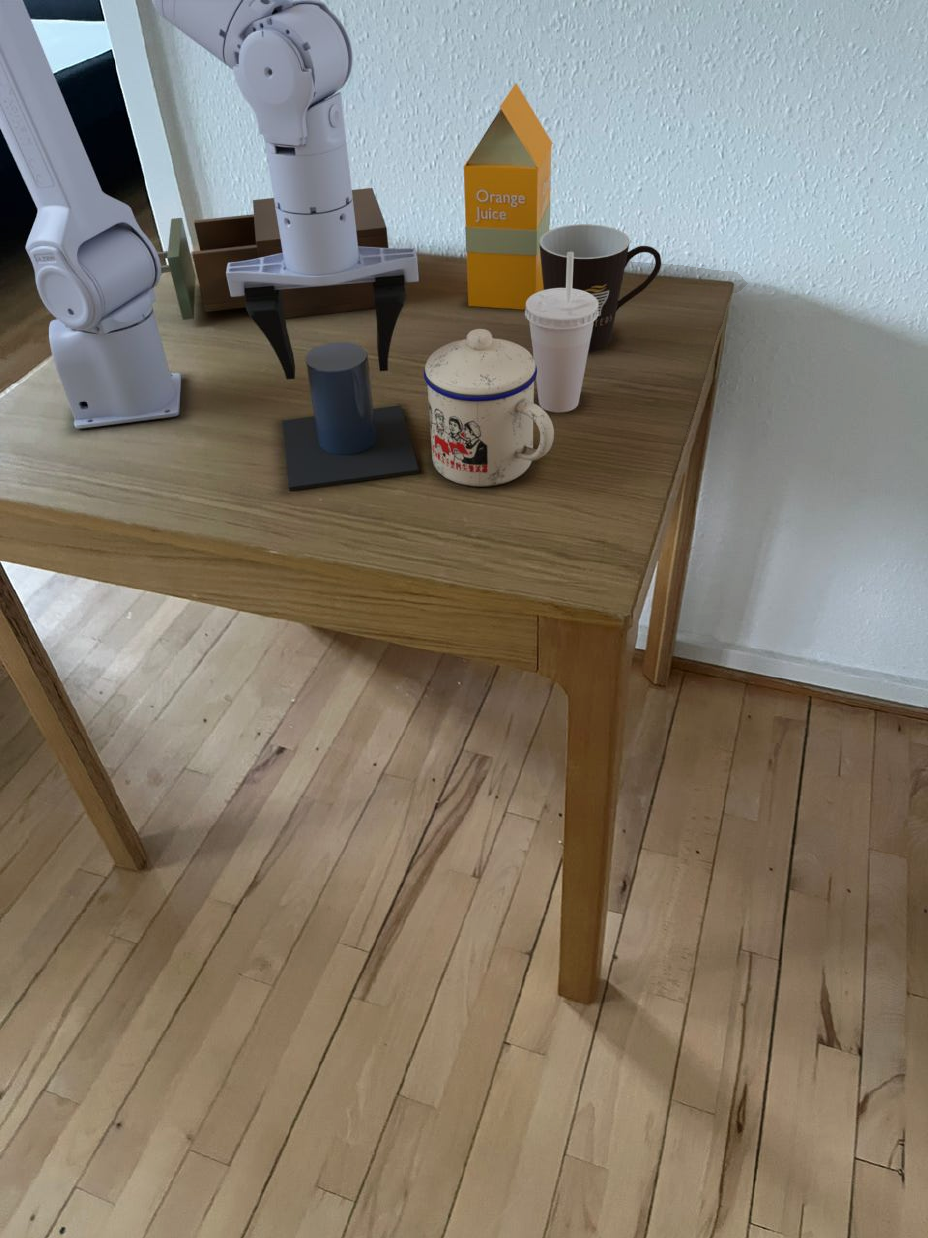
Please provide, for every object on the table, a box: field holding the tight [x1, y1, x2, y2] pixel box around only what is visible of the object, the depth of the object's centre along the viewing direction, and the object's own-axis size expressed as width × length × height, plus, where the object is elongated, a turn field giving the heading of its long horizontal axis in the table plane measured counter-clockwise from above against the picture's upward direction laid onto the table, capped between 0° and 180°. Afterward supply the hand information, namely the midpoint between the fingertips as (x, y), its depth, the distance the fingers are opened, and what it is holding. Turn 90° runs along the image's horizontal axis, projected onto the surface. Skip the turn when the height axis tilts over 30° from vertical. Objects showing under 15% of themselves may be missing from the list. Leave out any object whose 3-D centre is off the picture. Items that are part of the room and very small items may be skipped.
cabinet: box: [252, 187, 389, 320], centre depth 106 cm, size 14×13×9 cm
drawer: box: [157, 213, 259, 321], centre depth 105 cm, size 17×11×7 cm
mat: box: [282, 404, 420, 492], centre depth 84 cm, size 11×11×1 cm
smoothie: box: [524, 252, 599, 413], centre depth 84 cm, size 6×6×14 cm
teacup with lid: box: [423, 328, 555, 487], centre depth 77 cm, size 12×9×12 cm
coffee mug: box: [539, 223, 662, 354], centre depth 94 cm, size 12×9×10 cm
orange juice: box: [463, 82, 554, 311], centre depth 100 cm, size 8×9×20 cm
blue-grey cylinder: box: [304, 341, 377, 455], centre depth 82 cm, size 5×5×8 cm
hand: (337, 369), depth 79 cm, fingers open, 7 cm apart
